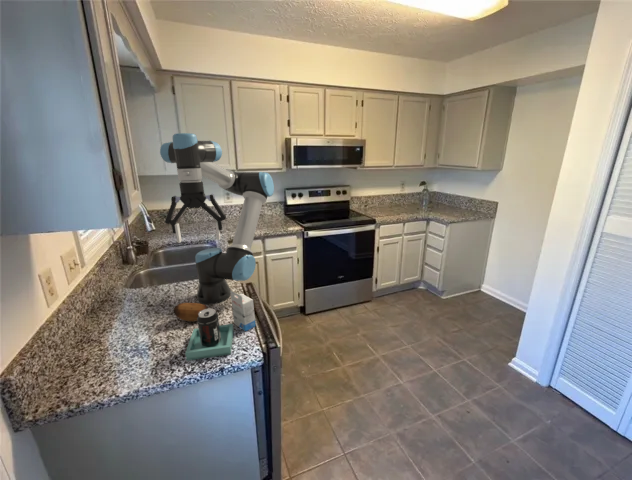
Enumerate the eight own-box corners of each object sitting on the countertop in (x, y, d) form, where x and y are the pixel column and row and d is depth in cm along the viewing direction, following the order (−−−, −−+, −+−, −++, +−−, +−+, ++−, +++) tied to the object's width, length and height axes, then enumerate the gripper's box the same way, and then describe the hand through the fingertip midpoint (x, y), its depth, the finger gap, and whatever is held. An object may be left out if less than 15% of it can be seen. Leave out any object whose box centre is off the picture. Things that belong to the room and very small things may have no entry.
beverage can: (198, 349, 99) (193, 318, 96) (204, 337, 106) (199, 308, 102) (218, 348, 100) (214, 317, 96) (223, 336, 106) (219, 307, 103)
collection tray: (195, 335, 108) (193, 328, 108) (233, 330, 111) (232, 323, 110) (186, 360, 95) (185, 353, 94) (230, 354, 98) (229, 346, 97)
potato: (207, 322, 122) (207, 321, 115) (172, 321, 118) (170, 320, 111) (209, 304, 125) (210, 302, 118) (175, 303, 120) (173, 300, 113)
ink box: (256, 326, 113) (253, 292, 109) (245, 332, 110) (241, 297, 106) (244, 318, 119) (240, 285, 115) (233, 323, 116) (229, 290, 111)
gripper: (147, 183, 94) (159, 246, 100) (227, 180, 98) (234, 240, 105) (155, 181, 101) (165, 240, 107) (229, 178, 105) (235, 235, 112)
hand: (199, 240), depth 106 cm, fingers open, 13 cm apart
